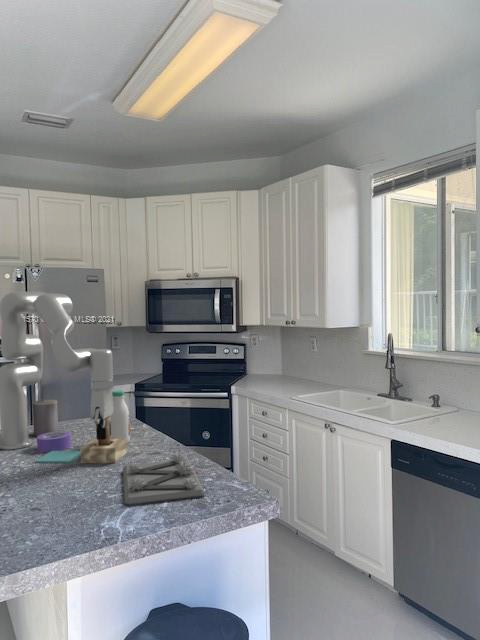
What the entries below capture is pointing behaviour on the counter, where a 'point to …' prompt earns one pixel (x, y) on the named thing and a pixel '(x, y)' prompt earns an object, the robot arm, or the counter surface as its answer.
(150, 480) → the decorative plate
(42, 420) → the pillar candle
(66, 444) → the tape roll
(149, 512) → the counter surface
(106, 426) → the walnut peg
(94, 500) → the counter surface
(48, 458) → the teal mat
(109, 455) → the eye block
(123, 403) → the milk bottle
